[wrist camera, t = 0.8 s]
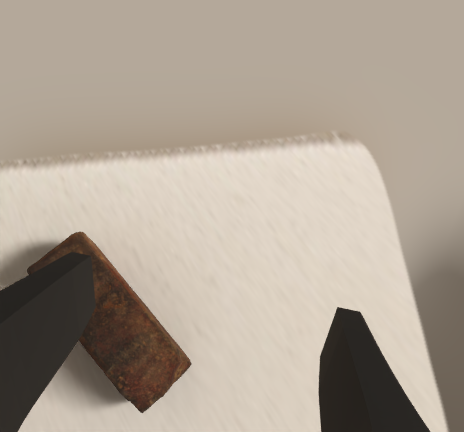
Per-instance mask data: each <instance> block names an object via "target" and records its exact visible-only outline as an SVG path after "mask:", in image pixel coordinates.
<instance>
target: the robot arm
mask: <svg viewBox="0 0 464 432" xmlns="http://www.w3.org/2000/svg"><path fill="white" fill-rule="evenodd" d="M95 308H96V303H95V292H94V281H93V270H92V259H91V256H90V255H85V254H80V253H76V252H70V253H68V254H66V255H64V256H63V257H61V258H59V259H57V260H55V261H53V262H52V263H50V264H48V265H46V266H45V267H43V268H41V269H39V270H37V271H36V272H34V273H32V274H30V275H29V276H27V277H25V278H23V279H21V280H20V281H18V282H16V283H14V284H12V285H10V286H9V287H7V288H5V289H3V290H1V291H0V432H18V430H19V428H20V426H21V425H22V423H23V421H24V420H25V418H26V416H27V415H28V413H29V412H30V410H31V409H32V407H33V405H34V404H35V403H36V401H37V400H38V398H39V397H40V395H41V394H42V392H43V391H44V390H45V388H46V387H47V385H48V384H49V382H50V381H51V379H52V378H53V377H54V375H55V374H56V372H57V371H58V369H59V368H60V366H61V365H62V364H63V362H64V361H65V359H66V358H67V356H68V355H69V353H70V352H71V350H72V349H73V347H74V346H75V344H76V343H77V341H78V340H79V338H80V337H81V335H82V333H83V331H84V329H85V327H86V326H87V324H88V322H89V320H90V318H91V316H92V314H93V312H94V310H95ZM319 405H320V420H321V432H430V430H429V429H428V427H427V426H426V425H425V423H424V422H423V420H422V419H421V417H420V416H419V414H418V412H417V411H416V409H415V408H414V406H413V405H412V403H411V402H410V400H409V399H408V397H407V395H406V394H405V392H404V390H403V389H402V387H401V385H400V384H399V382H398V380H397V379H396V377H395V375H394V374H393V372H392V370H391V368H390V367H389V365H388V363H387V361H386V360H385V358H384V356H383V354H382V352H381V350H380V349H379V347H378V345H377V343H376V341H375V339H374V337H373V335H372V333H371V331H370V330H369V328H368V326H367V324H366V322H365V320H364V318H363V316H362V314H361V313H360V312H358V311H353V310H349V309H344V308H339V307H337V310H336V313H335V316H334V319H333V322H332V324H331V327H330V330H329V333H328V336H327V339H326V341H325V344H324V347H323V350H322V353H321V356H320V371H319Z"/></svg>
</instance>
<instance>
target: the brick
mask: <svg viewBox="0 0 464 432" xmlns="http://www.w3.org/2000/svg"><path fill="white" fill-rule="evenodd" d="M70 252H76V253H80V254H85V255H90V256H91V259H92V270H93V281H94V292H95V303H96V308H95V310H94V312H93V314H92V316H91V318H90V320H89V322H88V324H87V326H86V327H85V329H84V331H83V333H82V335H81V337H80V338H79V341H80V342H81V344H82V345H83V346H84V348H85V349H86V350H87V352H88V353H89V354H90V355H91V357H92V358H93V359H94V360H95V362H96V363H97V364H98V365H99V367H100V368H101V369H102V370H103V371H104V373H105V374H106V376H107V377H108V378H109V379H110V380H111V381H112V383H113V384H114V385H115V387H116V388H117V389H118V391H119V392H120V393H121V394H122V395H123V396H124V397H125V398H126V399H127V400H128V401H131V403H132V404H134V406H135V407H136V408H137V409H138V410H139V411H140V412H142V413H143V412H144V411H146V410H147V409H148V408H149V407H151V406H152V404H154V403H155V402H156V401H157V400H158V399H160V398H161V397H163V396H164V394H165V393H166V392H167V391H168V390H169V388H170V387H171V386H172V384H173V383H174V382H176V381H177V380H178V379H179V378H180V377H181V376H182V375H183V374H184V373H185V372H186V370H187V369H188V368H189V367H190V365H191V362H190V359H189V358H188V357H187V356H186V354H185V353H184V352H183V350H182V349H181V348H180V347H179V346H178V344H177V343H176V342H175V341H174V340H173V338H172V337H171V336H170V335H169V333H168V332H167V331H166V330H165V329H164V327H163V326H162V325H161V324H160V322H159V321H158V320H157V319H156V317H155V316H154V315H153V314H152V312H151V311H150V310H149V309H148V307H147V306H146V305H145V304H144V303H143V301H142V300H141V299H140V298H139V297H138V296H137V294H136V293H135V292H134V291H133V290H132V288H131V287H130V286H129V285H128V283H127V282H126V281H125V280H124V278H123V277H122V276H121V275H120V274H119V273H118V271H117V270H116V269H115V267H114V266H113V265H112V264H111V263H110V261H109V260H108V259H107V258H106V257H105V255H104V254H103V253H102V252H101V250H100V249H99V248H98V247H97V246H96V244H95V243H94V242H93V241H92V240H91V239H89V238H88V237H87V236H86V234H84V233H83V232H76V233H74V234H72V235H70V236H69V237H68V238H67V239H66V240H64V241H63V242H62V243H61V244H59V245H58V246H57V247H55V248H54V249H53V250H51V251H50V252H49V253H48V254H46V255H45V256H44V257H42V258H41V259H40V260H39V261H37V262H36V263H35V264H33V265H32V266H30V267H29V268H28V269H27V272H28V274H29V275H30V274H32V273H34V272H36V271H37V270H39V269H41V268H43V267H45V266H46V265H48V264H50V263H52V262H53V261H55V260H57V259H59V258H61V257H63V256H64V255H66V254H68V253H70Z"/></svg>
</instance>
